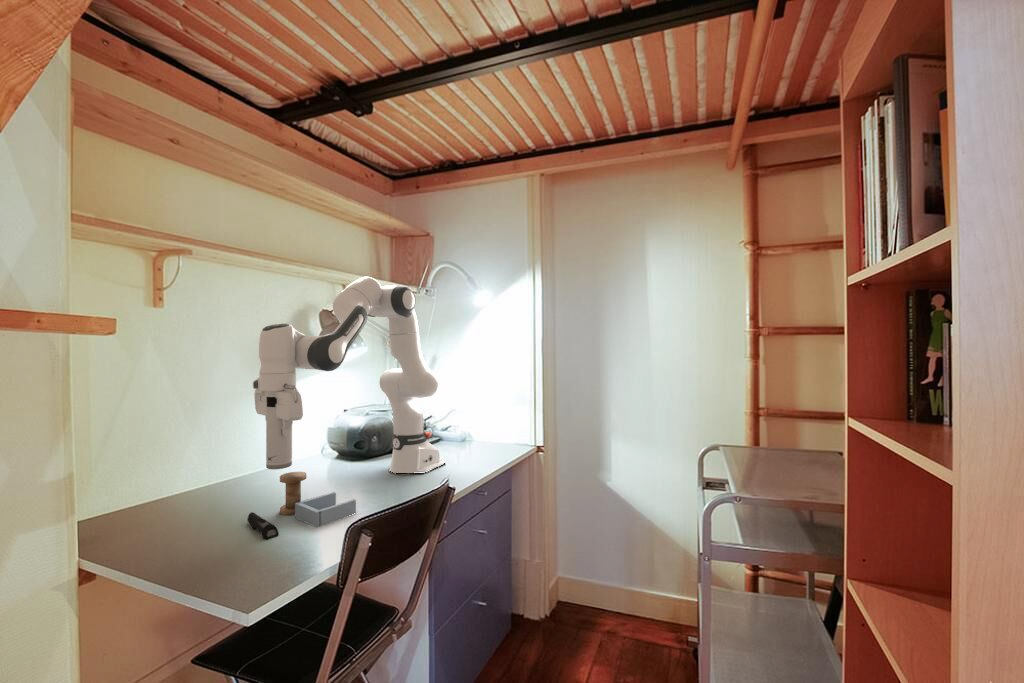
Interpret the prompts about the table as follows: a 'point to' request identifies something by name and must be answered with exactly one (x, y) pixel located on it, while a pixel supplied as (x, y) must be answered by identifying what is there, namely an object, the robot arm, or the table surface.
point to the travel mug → (276, 439)
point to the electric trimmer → (262, 526)
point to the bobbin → (292, 491)
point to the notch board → (323, 509)
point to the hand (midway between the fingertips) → (278, 433)
